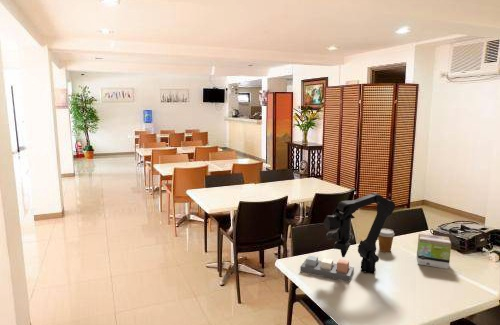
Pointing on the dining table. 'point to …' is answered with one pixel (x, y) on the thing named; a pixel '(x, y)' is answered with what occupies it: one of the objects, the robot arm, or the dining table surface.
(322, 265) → the cream key
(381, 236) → the disposable coffee cup
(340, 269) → the terracotta key
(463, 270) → the dining table surface
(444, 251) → the tea box
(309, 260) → the light grey cube
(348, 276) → the grey slotted tray
